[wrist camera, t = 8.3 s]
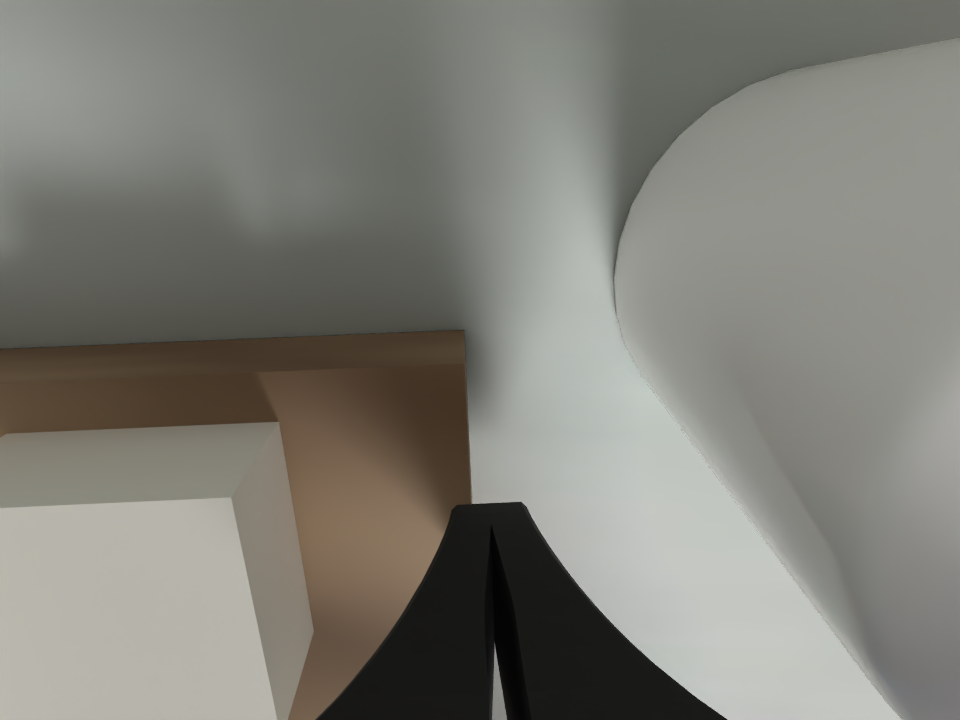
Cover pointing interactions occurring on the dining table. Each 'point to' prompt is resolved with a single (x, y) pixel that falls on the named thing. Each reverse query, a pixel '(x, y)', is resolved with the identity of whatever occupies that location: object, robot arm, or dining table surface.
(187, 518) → the tile cream
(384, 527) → the board
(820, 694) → the dining table surface
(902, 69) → the pill bottle
